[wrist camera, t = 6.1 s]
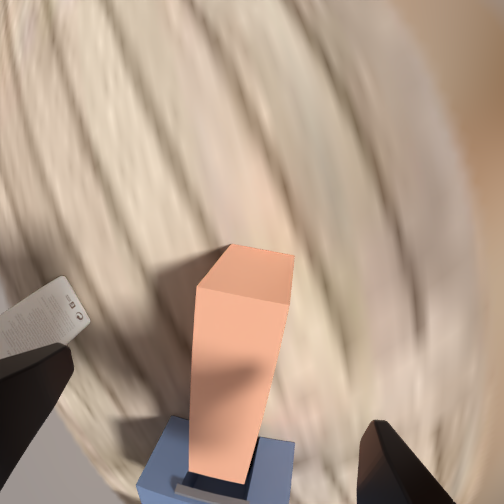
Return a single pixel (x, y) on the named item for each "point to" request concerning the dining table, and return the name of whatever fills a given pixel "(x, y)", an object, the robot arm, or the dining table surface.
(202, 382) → the salmon pink prism
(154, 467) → the block
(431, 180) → the dining table surface
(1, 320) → the skincare box
